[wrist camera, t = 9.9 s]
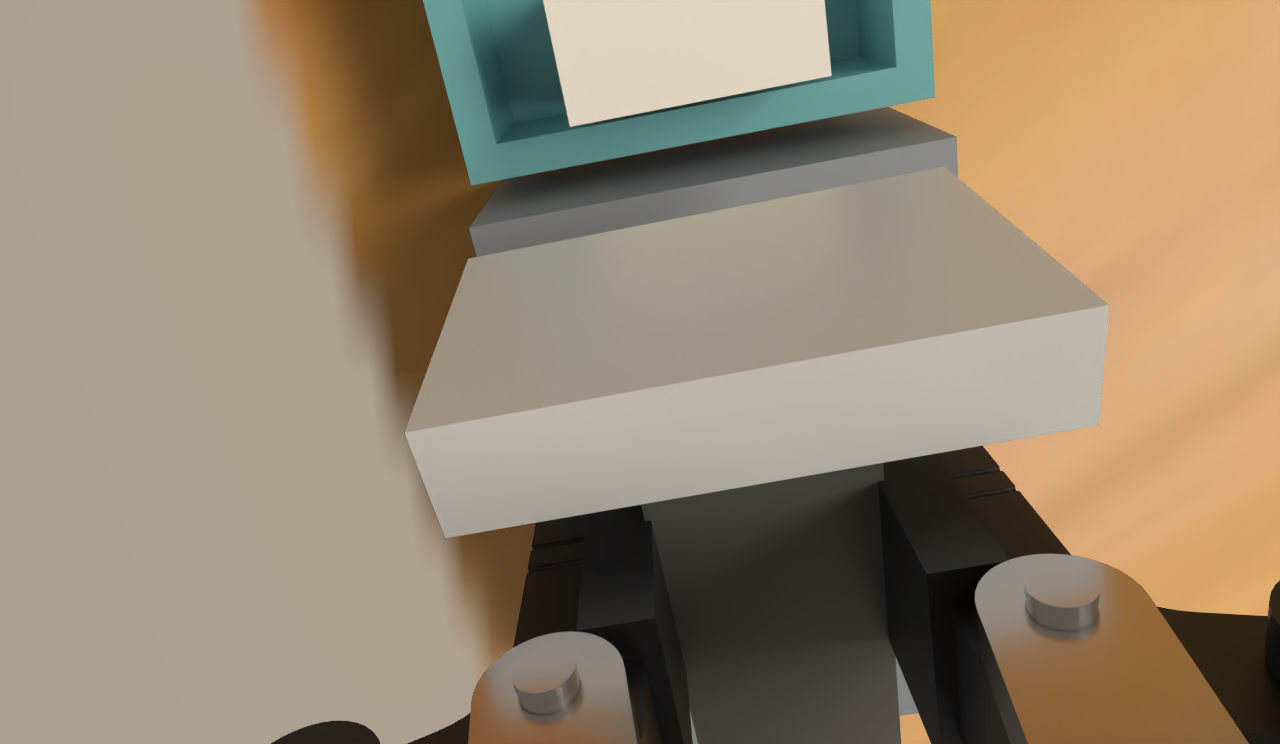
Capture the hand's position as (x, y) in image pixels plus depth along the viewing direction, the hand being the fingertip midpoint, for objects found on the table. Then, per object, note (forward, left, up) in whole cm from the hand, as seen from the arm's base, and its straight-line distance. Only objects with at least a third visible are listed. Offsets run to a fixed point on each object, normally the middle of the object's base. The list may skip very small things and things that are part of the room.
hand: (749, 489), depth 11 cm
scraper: (-1, 0, -2) cm, 2 cm away
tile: (+4, +1, -6) cm, 8 cm away
